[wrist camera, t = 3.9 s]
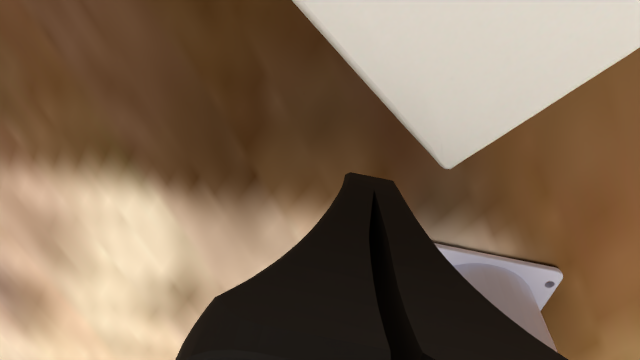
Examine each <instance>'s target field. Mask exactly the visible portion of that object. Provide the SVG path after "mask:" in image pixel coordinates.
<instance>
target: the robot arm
mask: <svg viewBox="0 0 640 360" xmlns="http://www.w3.org/2000/svg"><path fill="white" fill-rule="evenodd" d="M562 279H563V274H562V272H561V271H560V270H559V269H558V268H555V267H550V266H545V265H540V264H535V263H530V262H525V261H521V260H516V259H511V258H506V257H501V256H496V255H491V254H486V253H481V252H476V251H471V250H466V249H461V248H456V247H451V246H446V245H441V244H436V243H433V242H432V240H431V239H430V238H429V236H428V235H427V234H426V232H425V231H424V230H423V228H422V227H421V225H420V224H419V222H418V221H417V219H416V218H415V216H414V215H413V213H412V212H411V210H410V208H409V207H408V205H407V203H406V202H405V200H404V198H403V197H402V195H401V193H400V192H399V190H398V188H397V187H396V185H395V183H394V182H393V181H391V180H386V179H381V178H376V177H371V176H366V175H361V174H356V173H351V172H350V173H348V174H346V175H345V178H344V182H343V186H342V188H341V190H340V192H339V193H338V195H337V197H336V198H335V200H334V201H333V203H332V205H331V206H330V208H329V209H328V210H327V212H326V213H325V214H324V215H323V217H322V218H321V219H320V220H319V222H318V223H317V224H316V225H315V226H314V227H313V229H312V230H311V231H310V232H309V233H308V234H307V235H306V236H305V237H304V238H303V239H302V240H301V241H300V242H299V243H298V244H297V245H295V246H294V247H293V248H292V249H291V250H290V251H288V252H287V253H286V254H285V255H284V256H282V257H281V258H280V259H279V260H277V261H276V262H275V263H273V264H272V265H270V266H269V267H267V268H266V269H264V270H263V271H261V272H260V273H258V274H257V275H255V276H254V277H252V278H250V279H249V280H247V281H245V282H244V283H242V284H240V285H238V286H236V287H234V288H232V289H230V290H228V291H227V292H225V293H223V294H221V295H219V296H217V297H215V298H214V299H213V301H212V302H211V303H210V304H209V306H208V307H207V308H206V309H205V311H204V312H203V313H202V315H201V316H200V318H199V319H198V320H197V322H196V323H195V325H194V326H193V328H192V329H191V331H190V333H189V334H188V336H187V338H186V339H185V341H184V343H183V345H182V347H181V349H180V351H179V353H178V355H177V358H176V360H568V359H566V358H565V357H563V356H562V355H560V354H559V353H558V352H557V349H556V347H555V345H554V342H553V340H552V338H551V335H550V333H549V331H548V328H547V326H546V324H545V321H544V319H543V317H542V314H541V312H540V311H541V310H542V308H543V307H544V305H545V304H546V302H547V301H548V299H549V298H550V296H551V295H552V294H553V292H554V291H555V289H556V288H557V286H558V285H559V283H560V282H561V280H562ZM548 281H550V282H548ZM546 282H548V283H546Z"/></svg>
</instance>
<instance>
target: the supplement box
mask: <svg viewBox="0 0 640 360" xmlns="http://www.w3.org/2000/svg"><path fill="white" fill-rule="evenodd" d="M292 1H293V2H294V3H295V5H296V6H297V7H298V8H299V9H300V10H301V11H302V12H303V13H304V15H305V16H306V17H307V18H308V19H309V20H310V21H311V22H312V24H313V25H314V26H315V27H316V28H317V29H318V30H319V31H320V33H321V34H322V35H323V36H324V37H325V38H326V39H327V40H328V42H329V43H330V44H331V45H332V46H333V47H334V48H335V49H336V51H337V52H338V53H339V54H340V55H341V56H342V57H343V58H344V59H345V61H346V62H347V63H348V64H349V65H350V66H351V67H352V68H353V70H354V71H355V72H356V73H357V74H358V75H359V76H360V77H361V79H362V80H363V81H364V82H365V83H366V84H367V85H368V86H369V87H370V89H371V90H372V91H373V92H374V93H375V94H376V95H377V96H378V98H379V99H380V100H381V101H382V102H383V103H384V104H385V105H386V106H387V108H388V109H389V110H390V111H391V112H392V113H393V114H394V115H395V117H396V118H397V119H398V120H399V121H400V122H401V123H402V124H403V125H404V126H405V127H406V129H407V130H408V131H409V132H410V133H411V134H412V135H413V136H414V137H415V138H416V139H417V140H418V142H419V143H420V144H421V145H422V146H423V147H424V148H425V149H426V150H427V151H428V152H429V153H430V154H431V156H432V157H433V158H434V159H435V160H436V161H437V162H438V163H439V165H440V166H441V167H443V168H444V169H451V168H453V167H454V166H456V165H457V164H459V163H460V162H462V161H463V160H465V159H466V158H468V157H470V156H471V155H473V154H474V153H476V152H477V151H479V150H481V149H482V148H484V147H485V146H487V145H489V144H490V143H492V142H493V141H495V140H496V139H498V138H499V137H501V136H503V135H504V134H506V133H507V132H509V131H510V130H512V129H513V128H515V127H517V126H518V125H520V124H521V123H523V122H524V121H526V120H528V119H529V118H531V117H532V116H534V115H535V114H537V113H538V112H540V111H542V110H543V109H545V108H546V107H548V106H549V105H551V104H552V103H554V102H555V101H557V100H558V99H560V98H562V97H563V96H565V95H566V94H568V93H569V92H571V91H572V90H574V89H576V88H577V87H579V86H580V85H582V84H583V83H585V82H587V81H588V80H590V79H591V78H593V77H594V76H596V75H597V74H599V73H601V72H602V71H604V70H605V69H607V68H608V67H610V66H612V65H613V64H615V63H616V62H618V61H619V60H621V59H622V58H624V57H625V56H627V55H629V54H630V53H632V52H633V51H635V50H636V49H638V48H639V47H640V0H292Z"/></svg>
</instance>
